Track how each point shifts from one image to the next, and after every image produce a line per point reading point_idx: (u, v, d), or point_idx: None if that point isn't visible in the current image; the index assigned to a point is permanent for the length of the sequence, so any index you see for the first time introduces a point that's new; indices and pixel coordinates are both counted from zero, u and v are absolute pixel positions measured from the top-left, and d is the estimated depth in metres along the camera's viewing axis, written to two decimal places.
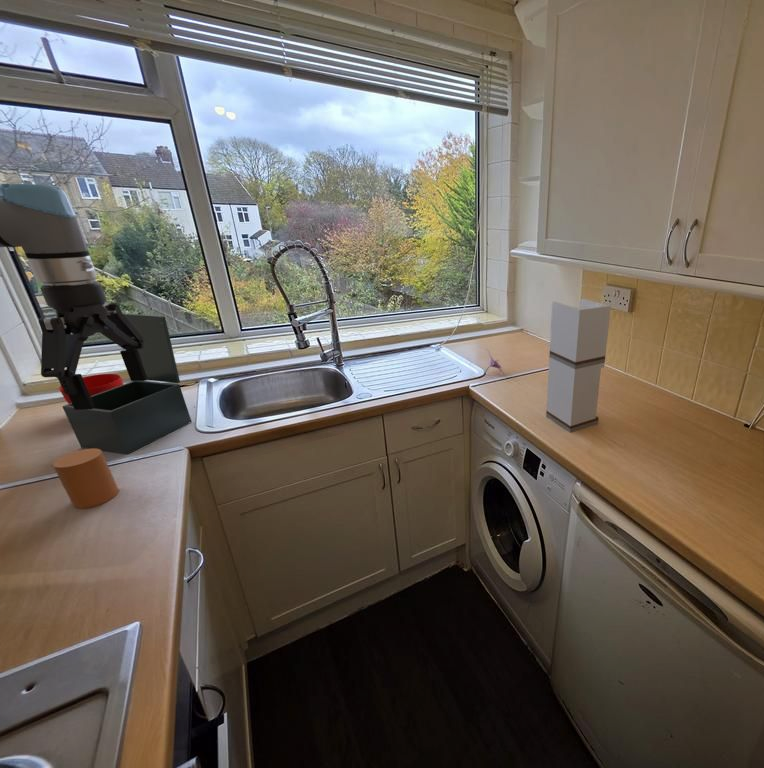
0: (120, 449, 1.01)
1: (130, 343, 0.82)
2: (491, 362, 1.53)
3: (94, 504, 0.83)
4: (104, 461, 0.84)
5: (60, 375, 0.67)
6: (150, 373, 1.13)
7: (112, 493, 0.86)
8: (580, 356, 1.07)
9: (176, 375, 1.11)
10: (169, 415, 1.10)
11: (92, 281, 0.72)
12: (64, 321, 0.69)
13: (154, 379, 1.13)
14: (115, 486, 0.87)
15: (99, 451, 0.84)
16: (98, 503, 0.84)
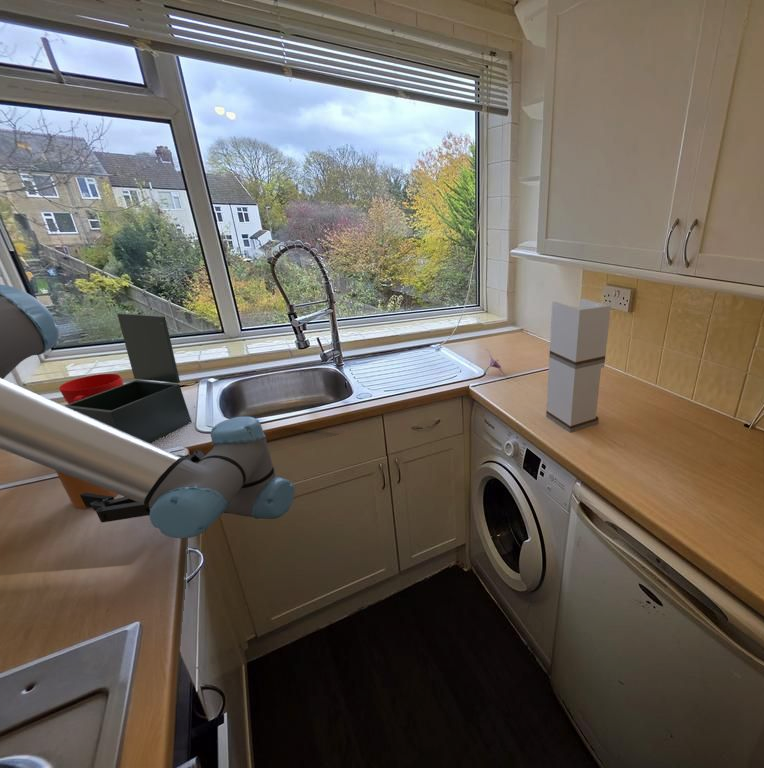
0: None
1: None
2: (491, 362, 1.53)
3: None
4: None
5: None
6: (150, 373, 1.13)
7: (112, 493, 0.86)
8: (580, 356, 1.07)
9: (176, 375, 1.11)
10: (169, 415, 1.10)
11: None
12: None
13: (154, 379, 1.13)
14: None
15: None
16: None
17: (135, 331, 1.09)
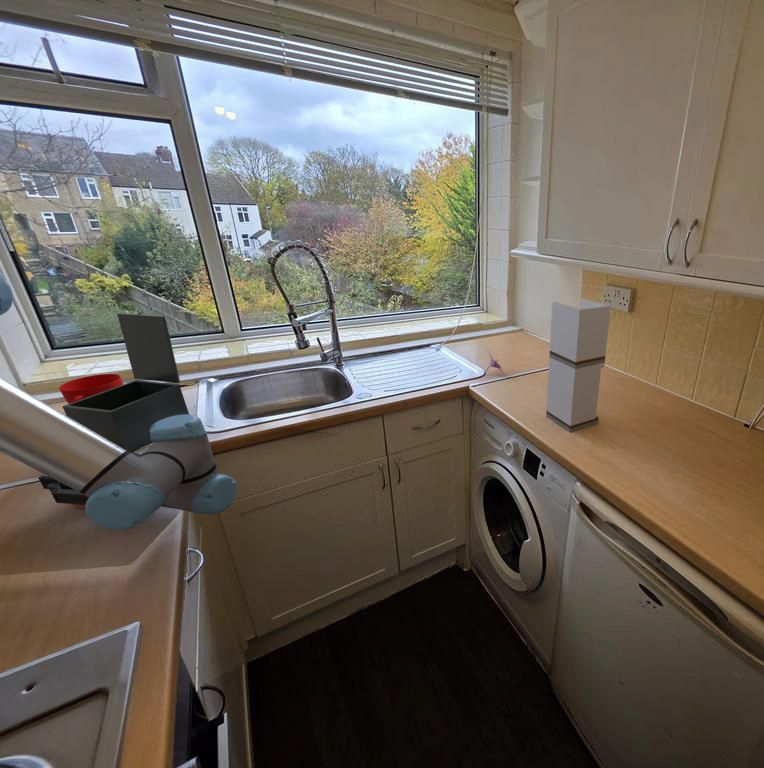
0: None
1: None
2: (491, 362, 1.53)
3: None
4: None
5: None
6: (150, 373, 1.13)
7: None
8: (580, 356, 1.07)
9: (176, 375, 1.11)
10: (169, 415, 1.10)
11: None
12: None
13: (154, 379, 1.13)
14: None
15: None
16: None
17: (135, 331, 1.09)
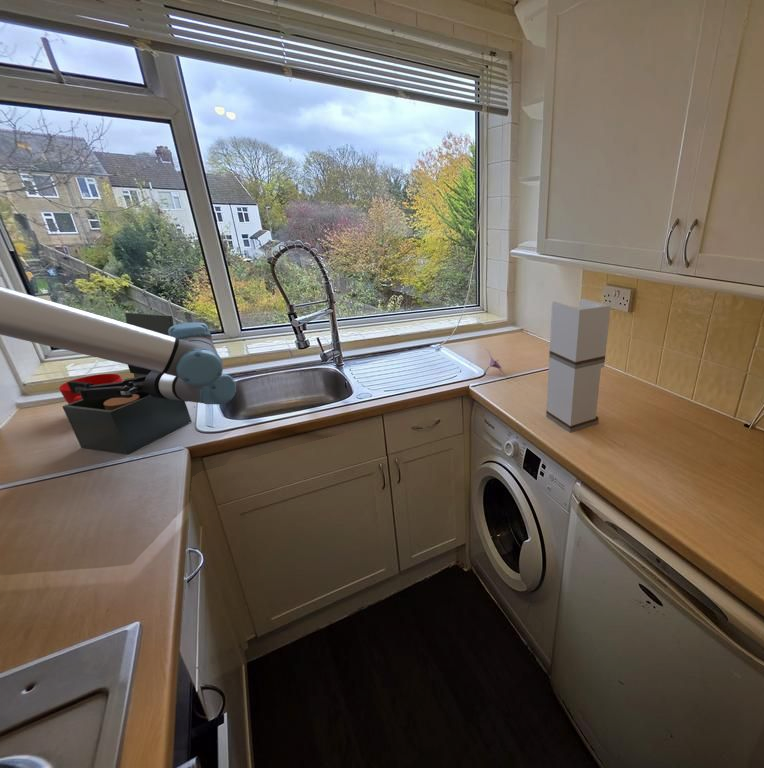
0: (120, 449, 1.01)
1: None
2: (491, 362, 1.53)
3: None
4: None
5: (84, 399, 0.94)
6: None
7: None
8: (580, 356, 1.07)
9: None
10: (169, 415, 1.10)
11: None
12: None
13: None
14: None
15: (137, 396, 1.07)
16: None
17: None
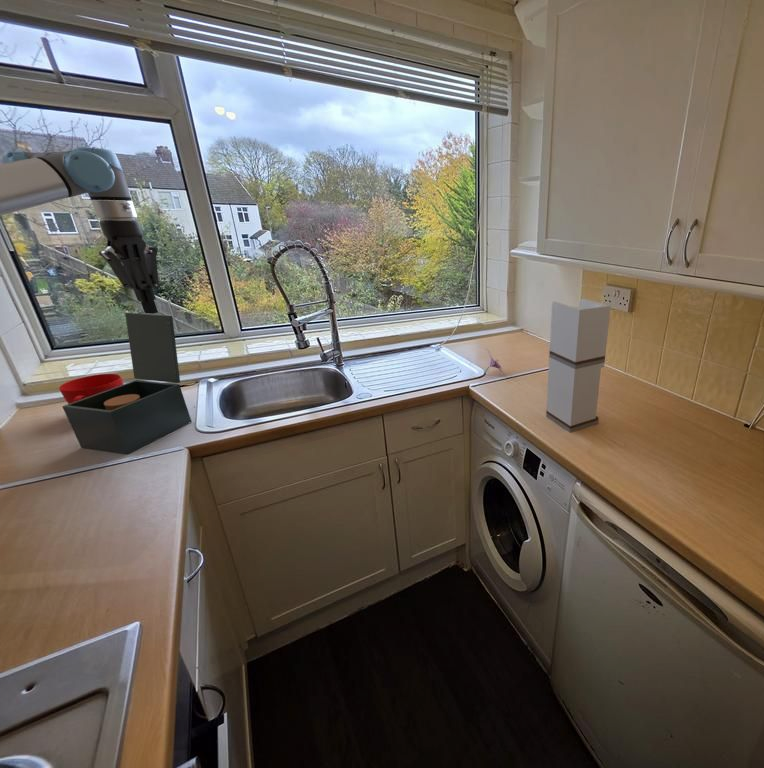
0: (120, 449, 1.01)
1: (146, 279, 1.07)
2: (491, 362, 1.53)
3: None
4: None
5: (133, 287, 1.04)
6: (151, 372, 1.13)
7: None
8: (580, 356, 1.07)
9: (177, 375, 1.12)
10: (169, 415, 1.10)
11: (131, 219, 1.01)
12: (113, 249, 1.00)
13: (154, 379, 1.13)
14: None
15: (138, 396, 1.07)
16: None
17: (141, 330, 1.11)
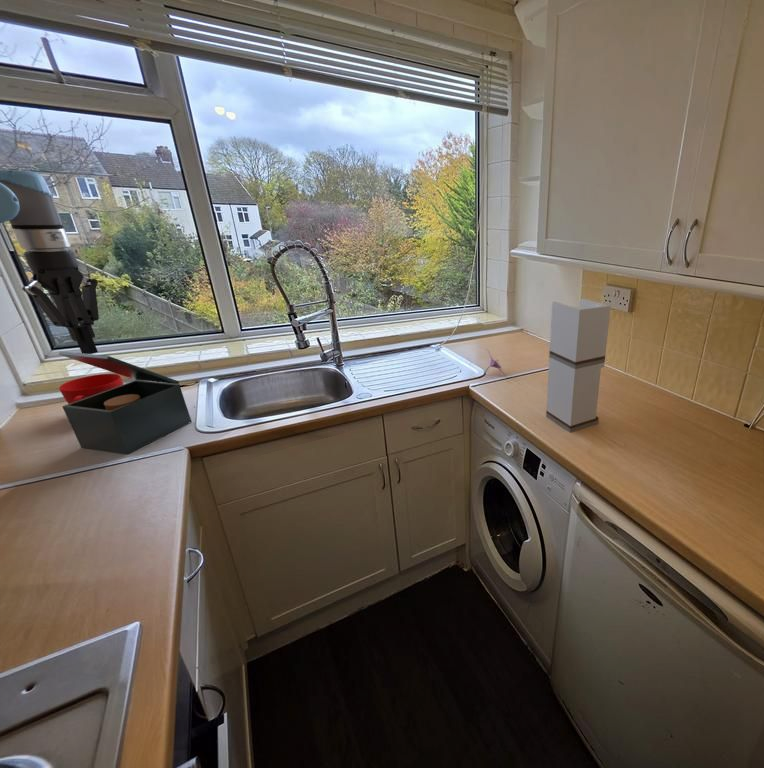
0: (120, 449, 1.01)
1: (83, 316, 0.95)
2: (491, 362, 1.53)
3: None
4: None
5: (66, 326, 0.92)
6: (145, 378, 1.11)
7: None
8: (580, 356, 1.07)
9: (171, 381, 1.10)
10: (169, 415, 1.10)
11: (62, 249, 0.89)
12: (40, 284, 0.87)
13: (154, 381, 1.13)
14: None
15: (138, 396, 1.07)
16: None
17: (94, 363, 1.01)
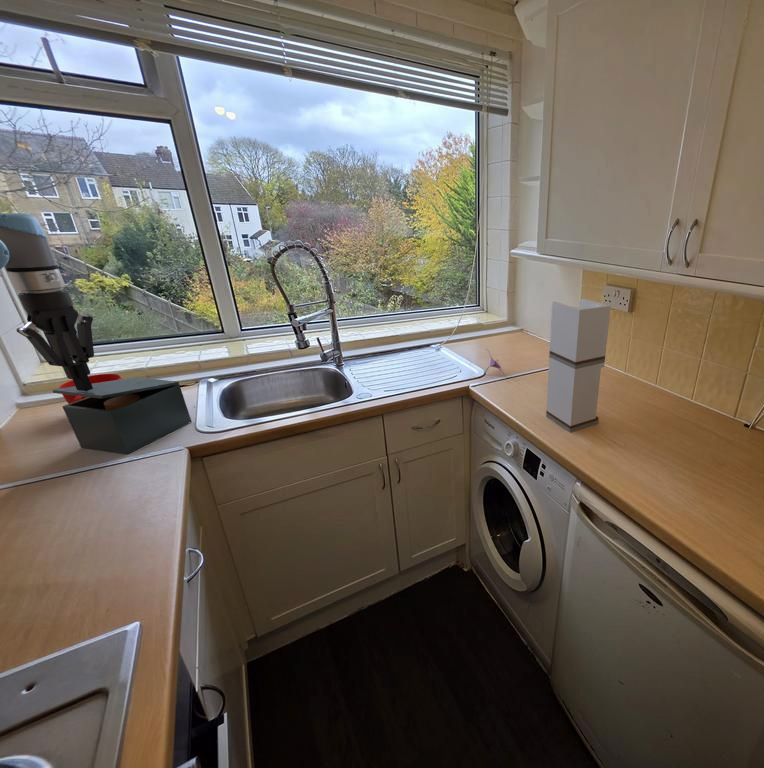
0: (120, 449, 1.01)
1: (78, 354, 0.94)
2: (491, 362, 1.53)
3: None
4: None
5: (60, 365, 0.91)
6: None
7: None
8: (580, 356, 1.07)
9: (171, 385, 1.10)
10: (169, 415, 1.10)
11: (57, 290, 0.88)
12: (34, 325, 0.87)
13: None
14: None
15: (138, 396, 1.07)
16: None
17: None
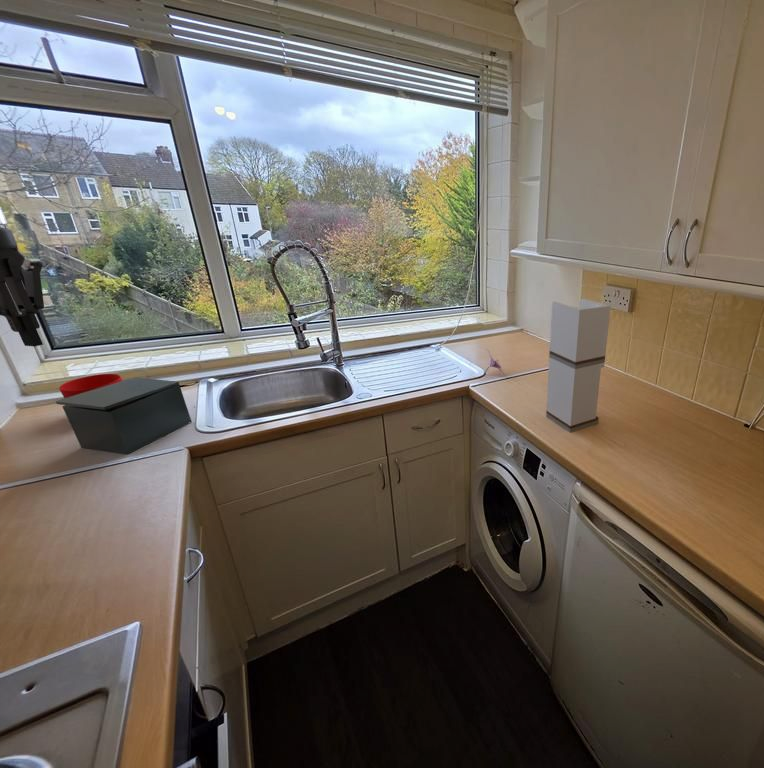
0: (120, 449, 1.01)
1: (25, 303, 0.84)
2: (491, 362, 1.53)
3: None
4: None
5: (2, 314, 0.81)
6: None
7: None
8: (580, 356, 1.07)
9: (171, 386, 1.10)
10: (169, 415, 1.10)
11: None
12: None
13: None
14: None
15: None
16: None
17: None
